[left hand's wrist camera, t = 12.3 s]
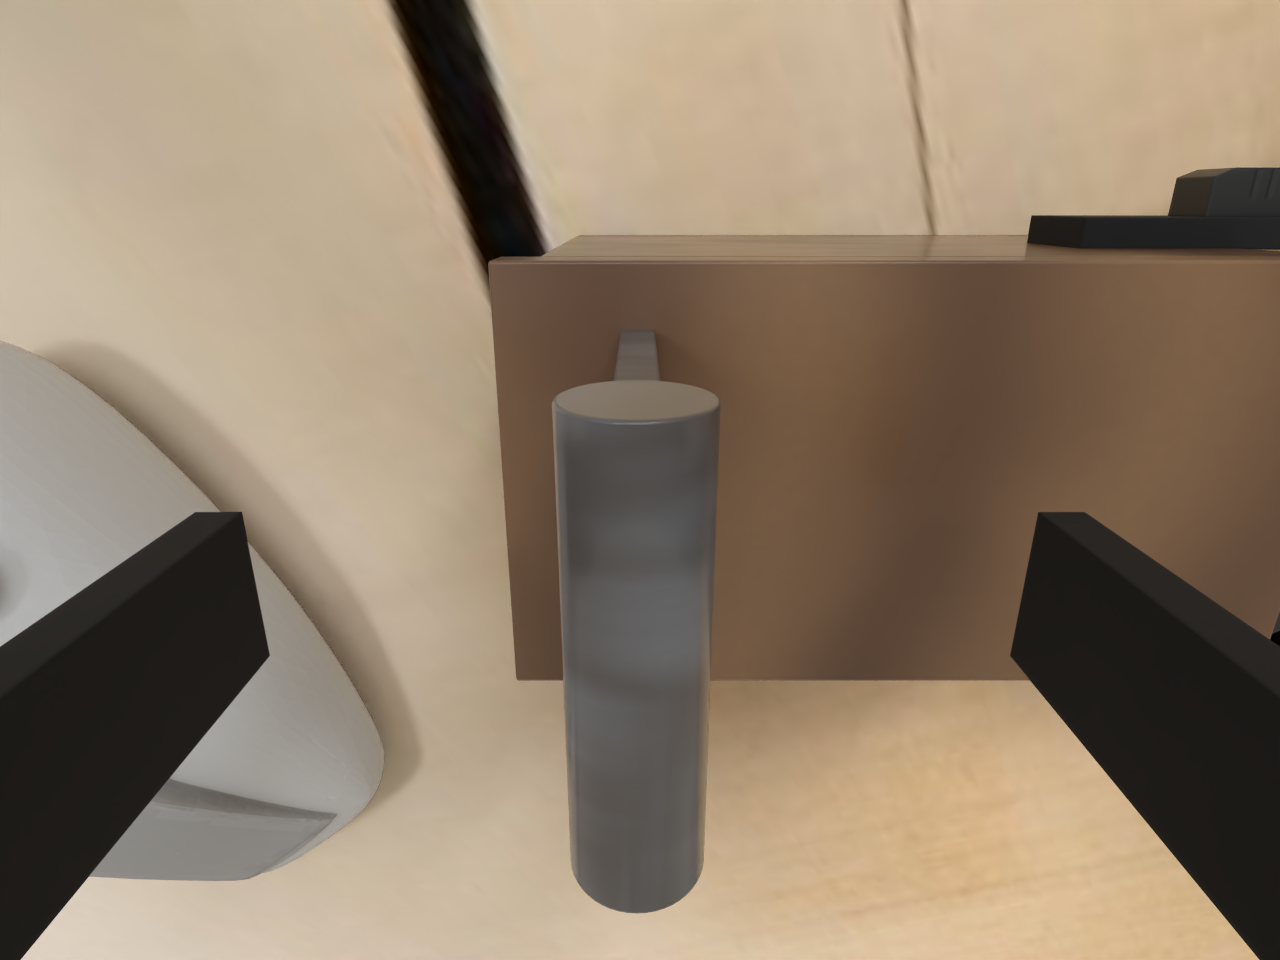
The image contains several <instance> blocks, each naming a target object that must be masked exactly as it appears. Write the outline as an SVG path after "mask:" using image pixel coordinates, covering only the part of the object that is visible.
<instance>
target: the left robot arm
mask: <svg viewBox="0 0 1280 960" xmlns="http://www.w3.org/2000/svg"><path fill="white" fill-rule="evenodd" d="M269 656H270V653H269V648H268V643H267V638H266V633H265V628H264V623H263V618H262V613H261V608H260V602H259V597H258V592H257V587H256V582H255V577H254V572H253V567H252V562H251V557H250V552H249V546H248V541H247V536H246V531H245V526H244V521H243V516H242V512H195V513H193V514H192V515H190V516H189V517H187V518H186V519H184V520H183V521H182V522H180V523H179V524H177V525H176V526H174V527H173V528H171V529H170V530H168V531H167V532H166V533H164V534H163V535H161V536H160V537H158V538H157V539H155V540H154V541H153V542H151V543H150V544H148V545H147V546H145V547H144V548H142V549H141V550H139V551H138V552H137V553H135V554H134V555H132V556H131V557H129V558H128V559H126V560H125V561H124V562H122V563H121V564H119V565H118V566H116V567H115V568H113V569H112V570H111V571H109V572H108V573H106V574H105V575H103V576H102V577H100V578H99V579H97V580H96V581H95V582H93V583H92V584H90V585H89V586H87V587H86V588H84V589H83V590H82V591H80V592H79V593H77V594H76V595H74V596H73V597H71V598H70V599H68V600H67V601H66V602H64V603H63V604H61V605H60V606H58V607H57V608H55V609H54V610H53V611H51V612H50V613H48V614H47V615H45V616H44V617H42V618H41V619H39V620H38V621H37V622H35V623H34V624H32V625H31V626H29V627H28V628H26V629H25V630H24V631H22V632H21V633H19V634H18V635H16V636H15V637H13V638H12V639H10V640H9V641H8V642H6V643H5V644H3V645H2V646H0V960H21V958H22V957H23V956H24V955H25V953H26V952H27V951H28V950H29V949H30V947H31V946H32V945H33V944H34V943H35V941H36V940H37V939H38V938H39V936H40V935H41V934H42V933H43V932H44V930H45V929H46V928H47V927H48V925H49V924H50V923H51V922H52V921H53V919H54V918H55V917H56V916H57V915H58V913H59V912H60V911H61V910H62V908H63V907H64V906H65V905H66V904H67V902H68V901H69V900H70V899H71V897H72V896H73V895H74V894H75V893H76V891H77V890H78V889H79V888H80V887H81V885H82V884H83V883H84V882H85V880H86V879H87V878H88V877H89V876H90V874H91V873H92V872H93V871H94V869H95V868H96V867H97V866H98V865H99V863H100V862H101V861H102V860H103V858H104V857H105V856H106V855H107V854H108V852H109V851H110V850H111V849H112V848H113V846H114V845H115V844H116V843H117V841H118V840H119V839H120V838H121V837H122V835H123V834H124V833H125V832H126V830H127V829H128V828H129V827H130V826H131V824H132V823H133V822H134V821H135V820H136V818H137V817H138V816H139V815H140V813H141V812H142V811H143V810H144V809H145V807H146V806H147V805H148V804H149V802H150V801H151V800H152V799H153V798H154V796H155V795H156V794H157V793H158V792H159V790H160V789H161V788H162V787H163V785H164V784H165V783H166V782H167V781H168V779H169V778H170V777H171V776H172V774H173V773H174V772H175V771H176V770H177V768H178V767H179V766H180V765H181V764H182V762H183V761H184V760H185V759H186V757H187V756H188V755H189V754H190V753H191V751H192V750H193V749H194V748H195V746H196V745H197V744H198V743H199V742H200V740H201V739H202V738H203V737H204V736H205V734H206V733H207V732H208V731H209V729H210V728H211V727H212V726H213V725H214V723H215V722H216V721H217V720H218V718H219V717H220V716H221V715H222V714H223V712H224V711H225V710H226V709H227V708H228V706H229V705H230V704H231V703H232V701H233V700H234V699H235V698H236V697H237V695H238V694H239V693H240V692H241V690H242V689H243V688H244V687H245V686H246V684H247V683H248V682H249V681H250V680H251V678H252V677H253V676H254V675H255V673H256V672H257V671H258V670H259V669H260V667H261V666H262V665H263V664H264V662H265V661H266V660H267V659H268V658H269ZM1010 656H1011V658H1012V659H1013V660H1014V661H1015V662H1016V664H1017V665H1018V666H1019V667H1020V669H1021V670H1022V671H1023V672H1024V673H1025V675H1026V676H1027V677H1028V678H1029V680H1030V681H1031V682H1032V683H1033V684H1034V686H1035V687H1036V688H1037V689H1038V690H1039V692H1040V693H1041V694H1042V695H1043V697H1044V698H1045V699H1046V700H1047V701H1048V703H1049V704H1050V705H1051V706H1052V708H1053V709H1054V710H1055V711H1056V712H1057V714H1058V715H1059V716H1060V717H1061V718H1062V720H1063V721H1064V722H1065V723H1066V725H1067V726H1068V727H1069V728H1070V729H1071V731H1072V732H1073V733H1074V734H1075V736H1076V737H1077V738H1078V739H1079V740H1080V742H1081V743H1082V744H1083V745H1084V746H1085V748H1086V749H1087V750H1088V751H1089V753H1090V754H1091V755H1092V756H1093V757H1094V759H1095V760H1096V761H1097V762H1098V764H1099V765H1100V766H1101V767H1102V768H1103V770H1104V771H1105V772H1106V773H1107V774H1108V776H1109V777H1110V778H1111V779H1112V781H1113V782H1114V783H1115V784H1116V785H1117V787H1118V788H1119V789H1120V790H1121V792H1122V793H1123V794H1124V795H1125V796H1126V798H1127V799H1128V800H1129V801H1130V802H1131V804H1132V805H1133V806H1134V807H1135V809H1136V810H1137V811H1138V812H1139V813H1140V815H1141V816H1142V817H1143V818H1144V820H1145V821H1146V822H1147V823H1148V824H1149V826H1150V827H1151V828H1152V829H1153V830H1154V832H1155V833H1156V834H1157V835H1158V837H1159V838H1160V839H1161V840H1162V841H1163V843H1164V844H1165V845H1166V846H1167V848H1168V849H1169V850H1170V851H1171V852H1172V854H1173V855H1174V856H1175V857H1176V858H1177V860H1178V861H1179V862H1180V863H1181V865H1182V866H1183V867H1184V868H1185V869H1186V871H1187V872H1188V873H1189V874H1190V876H1191V877H1192V878H1193V879H1194V880H1195V882H1196V883H1197V884H1198V885H1199V887H1200V888H1201V889H1202V890H1203V891H1204V893H1205V894H1206V895H1207V896H1208V897H1209V899H1210V900H1211V901H1212V902H1213V904H1214V905H1215V906H1216V907H1217V908H1218V910H1219V911H1220V912H1221V913H1222V915H1223V916H1224V917H1225V918H1226V919H1227V921H1228V922H1229V923H1230V924H1231V925H1232V927H1233V928H1234V929H1235V930H1236V932H1237V933H1238V934H1239V935H1240V936H1241V938H1242V939H1243V940H1244V941H1245V943H1246V944H1247V945H1248V946H1249V947H1250V949H1251V950H1252V951H1253V952H1254V953H1255V955H1256V956H1257V957H1258V958H1259V960H1280V646H1278V645H1277V644H1275V643H1274V642H1272V641H1271V640H1270V639H1268V638H1267V637H1265V636H1264V635H1262V634H1261V633H1259V632H1258V631H1256V630H1255V629H1254V628H1252V627H1251V626H1249V625H1248V624H1246V623H1245V622H1243V621H1242V620H1241V619H1239V618H1238V617H1236V616H1235V615H1233V614H1232V613H1230V612H1229V611H1227V610H1226V609H1225V608H1223V607H1222V606H1220V605H1219V604H1217V603H1216V602H1214V601H1213V600H1212V599H1210V598H1209V597H1207V596H1206V595H1204V594H1203V593H1201V592H1200V591H1198V590H1197V589H1196V588H1194V587H1193V586H1191V585H1190V584H1188V583H1187V582H1185V581H1184V580H1183V579H1181V578H1180V577H1178V576H1177V575H1175V574H1174V573H1172V572H1171V571H1169V570H1168V569H1167V568H1165V567H1164V566H1162V565H1161V564H1159V563H1158V562H1156V561H1155V560H1154V559H1152V558H1151V557H1149V556H1148V555H1146V554H1145V553H1143V552H1142V551H1141V550H1139V549H1138V548H1136V547H1135V546H1133V545H1132V544H1130V543H1129V542H1127V541H1126V540H1125V539H1123V538H1122V537H1120V536H1119V535H1117V534H1116V533H1114V532H1113V531H1112V530H1110V529H1109V528H1107V527H1106V526H1104V525H1103V524H1101V523H1100V522H1098V521H1097V520H1096V519H1094V518H1093V517H1091V516H1090V515H1088V514H1087V513H1085V512H1038V516H1037V521H1036V526H1035V531H1034V536H1033V541H1032V546H1031V552H1030V557H1029V562H1028V567H1027V572H1026V577H1025V582H1024V587H1023V592H1022V597H1021V602H1020V608H1019V613H1018V618H1017V623H1016V628H1015V633H1014V638H1013V643H1012V648H1011V653H1010Z"/></svg>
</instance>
